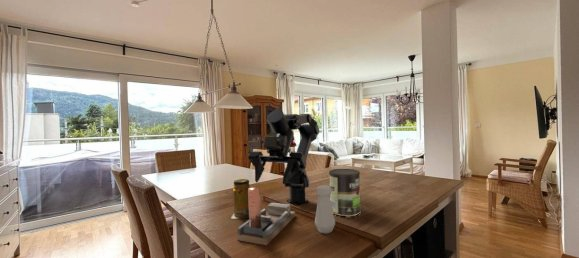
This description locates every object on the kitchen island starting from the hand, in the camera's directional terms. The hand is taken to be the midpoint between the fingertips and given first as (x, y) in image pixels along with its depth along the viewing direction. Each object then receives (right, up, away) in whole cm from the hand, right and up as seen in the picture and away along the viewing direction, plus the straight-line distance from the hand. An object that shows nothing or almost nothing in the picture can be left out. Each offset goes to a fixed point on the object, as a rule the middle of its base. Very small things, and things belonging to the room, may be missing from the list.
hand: (269, 182), depth 77 cm
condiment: (-9, -14, +11) cm, 20 cm away
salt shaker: (+16, -13, -3) cm, 21 cm away
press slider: (-3, -12, -6) cm, 14 cm away
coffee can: (+25, -13, +10) cm, 30 cm away
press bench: (0, -14, +1) cm, 14 cm away
